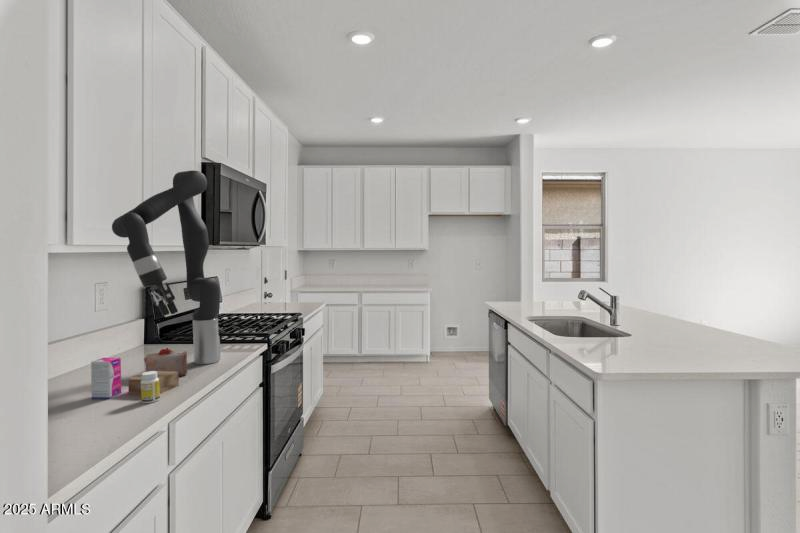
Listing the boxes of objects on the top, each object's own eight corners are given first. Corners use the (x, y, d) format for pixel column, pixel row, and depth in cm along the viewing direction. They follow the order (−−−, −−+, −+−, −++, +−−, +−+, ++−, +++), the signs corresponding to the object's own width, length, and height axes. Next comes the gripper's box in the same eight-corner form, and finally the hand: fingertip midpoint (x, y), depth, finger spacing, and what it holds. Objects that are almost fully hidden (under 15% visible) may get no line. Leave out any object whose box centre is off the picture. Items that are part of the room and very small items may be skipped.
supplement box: (110, 399, 135) (108, 361, 135) (91, 399, 135) (89, 361, 135) (122, 393, 141) (121, 357, 141) (104, 393, 141) (102, 357, 141)
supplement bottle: (155, 397, 137) (154, 369, 136) (162, 400, 134) (161, 372, 133) (138, 401, 133) (137, 373, 133) (145, 404, 130) (144, 376, 130)
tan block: (152, 385, 150) (151, 370, 150) (178, 386, 148) (178, 371, 148) (128, 395, 140) (128, 379, 140) (156, 396, 138) (156, 380, 138)
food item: (142, 381, 155) (141, 352, 154) (147, 374, 162) (146, 347, 162) (185, 377, 158) (184, 349, 158) (189, 371, 166) (188, 344, 166)
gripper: (167, 263, 149) (188, 308, 152) (154, 269, 159) (174, 310, 162) (144, 272, 144) (166, 317, 147) (132, 277, 154) (153, 320, 157)
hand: (170, 314), depth 155 cm, fingers open, 8 cm apart
